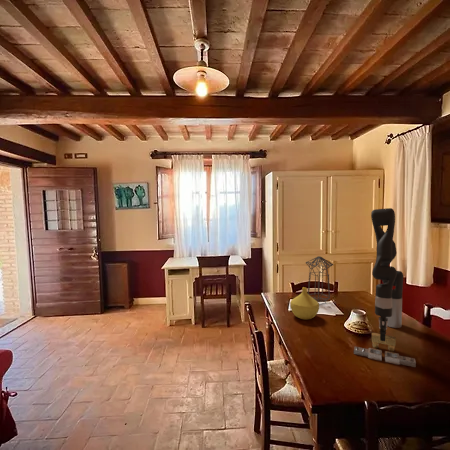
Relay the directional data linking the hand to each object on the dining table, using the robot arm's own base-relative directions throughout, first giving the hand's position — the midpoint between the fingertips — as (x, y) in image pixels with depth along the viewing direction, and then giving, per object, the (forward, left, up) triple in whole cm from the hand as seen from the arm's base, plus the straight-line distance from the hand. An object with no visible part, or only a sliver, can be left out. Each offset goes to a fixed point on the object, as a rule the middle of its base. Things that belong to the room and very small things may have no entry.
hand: (382, 337), depth 142 cm
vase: (-24, -45, -6) cm, 51 cm away
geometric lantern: (-57, -42, -6) cm, 71 cm away
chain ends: (+11, 0, -6) cm, 12 cm away
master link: (0, 0, -6) cm, 6 cm away
